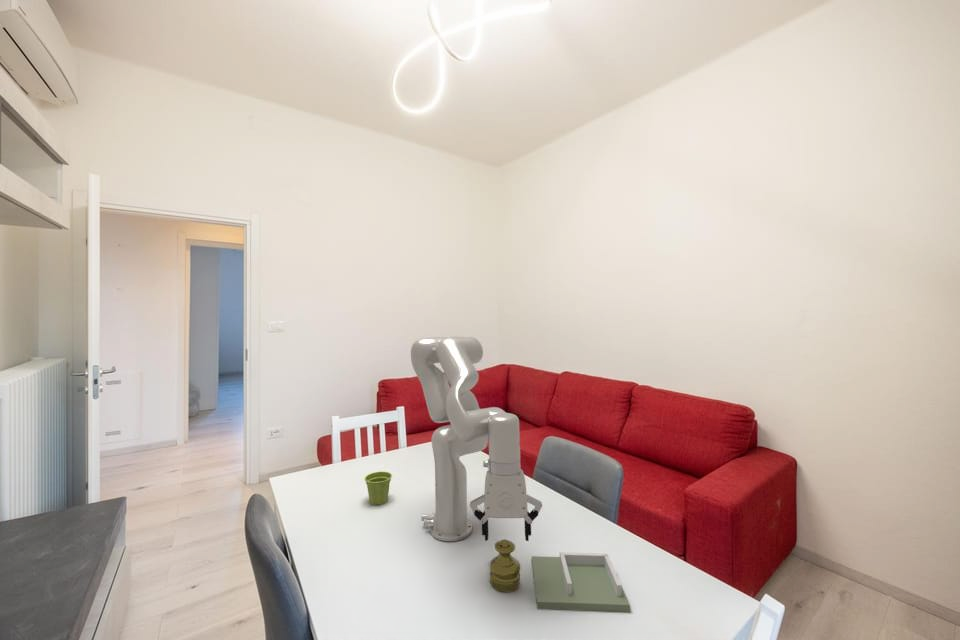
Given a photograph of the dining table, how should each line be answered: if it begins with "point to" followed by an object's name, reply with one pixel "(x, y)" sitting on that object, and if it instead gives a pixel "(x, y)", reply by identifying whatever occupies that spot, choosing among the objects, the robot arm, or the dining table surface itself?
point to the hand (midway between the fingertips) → (506, 537)
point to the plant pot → (378, 487)
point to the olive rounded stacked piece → (504, 568)
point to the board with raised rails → (578, 583)
